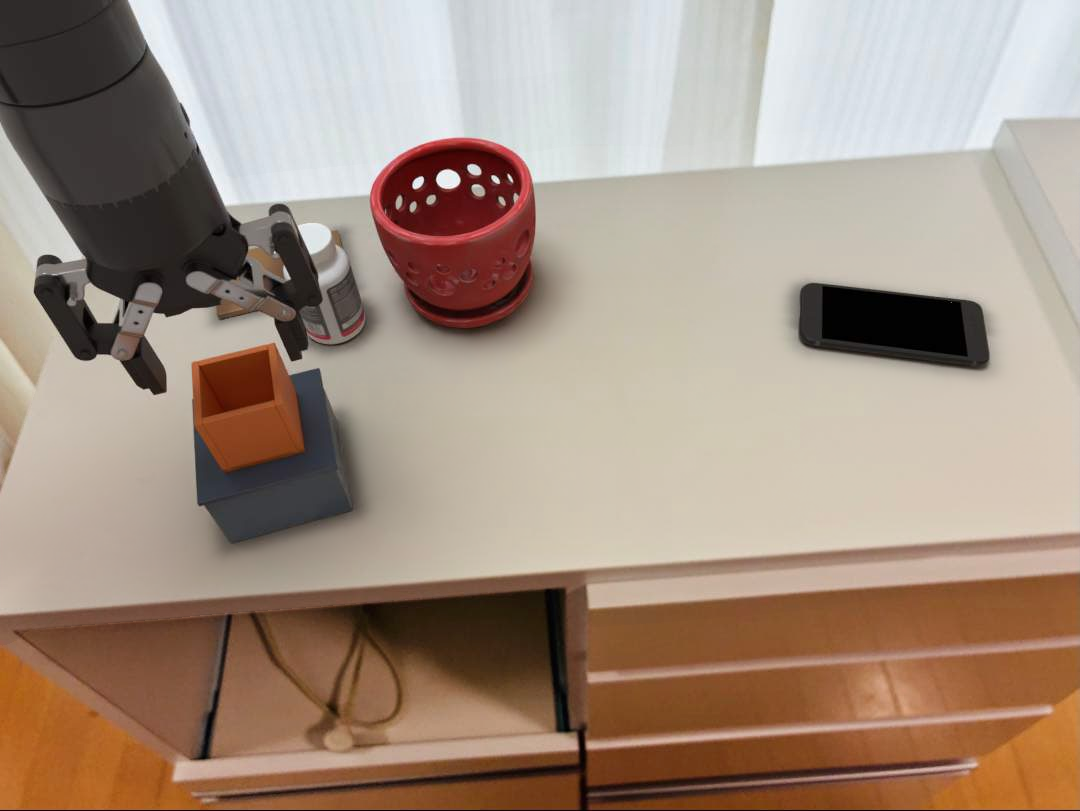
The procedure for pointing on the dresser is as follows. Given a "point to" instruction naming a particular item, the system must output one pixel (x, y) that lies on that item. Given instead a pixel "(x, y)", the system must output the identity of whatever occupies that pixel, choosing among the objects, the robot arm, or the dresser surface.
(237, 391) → the orange tub
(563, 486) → the dresser surface
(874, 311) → the smartphone
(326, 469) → the blue tin
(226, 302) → the cork mat
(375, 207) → the flower pot
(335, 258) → the pill bottle
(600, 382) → the dresser surface
